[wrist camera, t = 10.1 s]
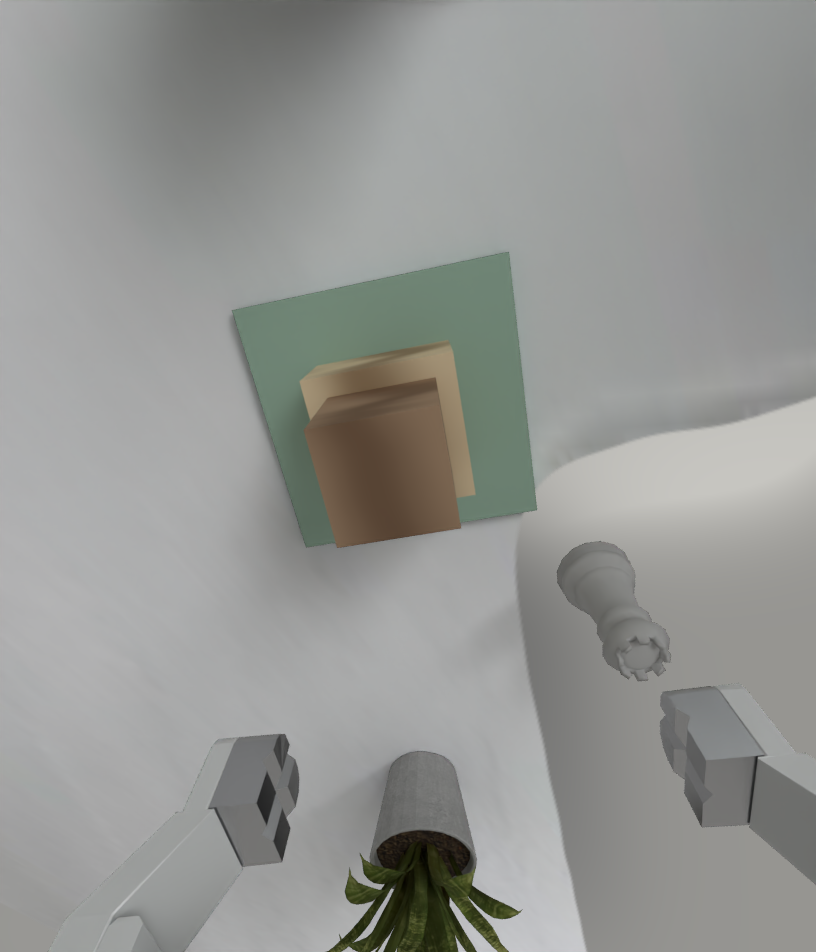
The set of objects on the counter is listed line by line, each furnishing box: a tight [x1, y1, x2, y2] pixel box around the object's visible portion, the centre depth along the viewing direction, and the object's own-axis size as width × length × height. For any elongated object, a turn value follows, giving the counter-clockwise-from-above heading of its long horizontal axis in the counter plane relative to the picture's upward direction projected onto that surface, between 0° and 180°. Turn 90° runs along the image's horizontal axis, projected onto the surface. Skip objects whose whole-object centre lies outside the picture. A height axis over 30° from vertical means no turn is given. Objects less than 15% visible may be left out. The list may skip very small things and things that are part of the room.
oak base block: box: [299, 340, 476, 498], centre depth 25 cm, size 7×7×4 cm
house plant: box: [327, 751, 522, 952], centre depth 31 cm, size 14×14×16 cm
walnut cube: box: [304, 377, 461, 548], centre depth 21 cm, size 5×5×5 cm
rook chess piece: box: [557, 541, 671, 681], centre depth 27 cm, size 4×4×8 cm
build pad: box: [232, 252, 537, 547], centre depth 27 cm, size 14×14×1 cm
